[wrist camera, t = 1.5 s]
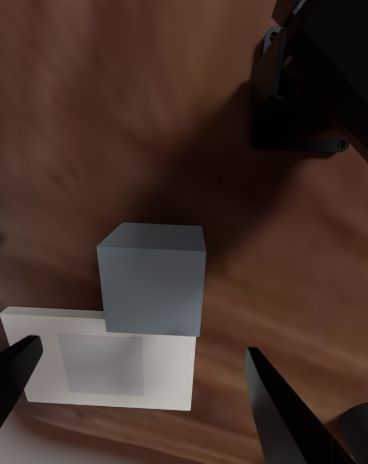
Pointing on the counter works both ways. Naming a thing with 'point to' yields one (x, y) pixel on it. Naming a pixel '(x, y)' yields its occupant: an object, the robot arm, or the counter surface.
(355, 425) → the travel mug
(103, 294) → the slate brick
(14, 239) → the counter surface
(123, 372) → the baseplate
